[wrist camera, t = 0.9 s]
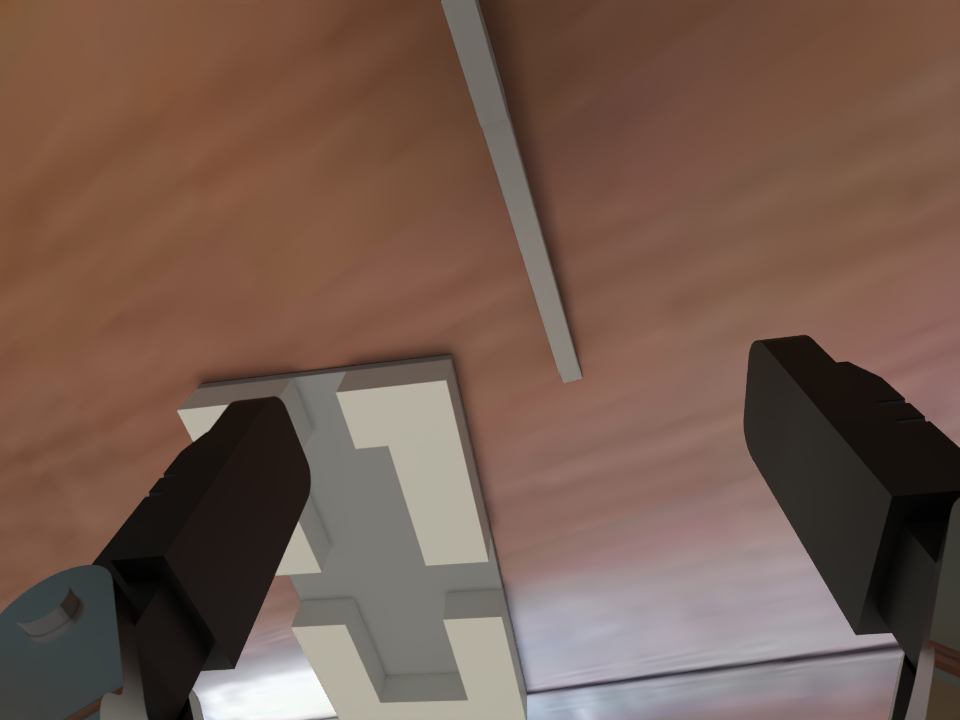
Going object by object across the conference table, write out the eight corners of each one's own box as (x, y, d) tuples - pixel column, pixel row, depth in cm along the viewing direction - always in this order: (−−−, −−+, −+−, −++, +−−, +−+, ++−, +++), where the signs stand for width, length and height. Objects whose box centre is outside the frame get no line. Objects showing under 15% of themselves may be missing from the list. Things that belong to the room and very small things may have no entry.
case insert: (451, 354, 29) (446, 380, 27) (526, 691, 43) (527, 725, 41) (201, 383, 31) (176, 410, 28) (353, 696, 45) (345, 730, 43)
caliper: (422, -104, 20) (384, -158, 14) (451, -116, 20) (424, -176, 14) (562, 378, 29) (571, 458, 24) (583, 374, 29) (597, 453, 24)
